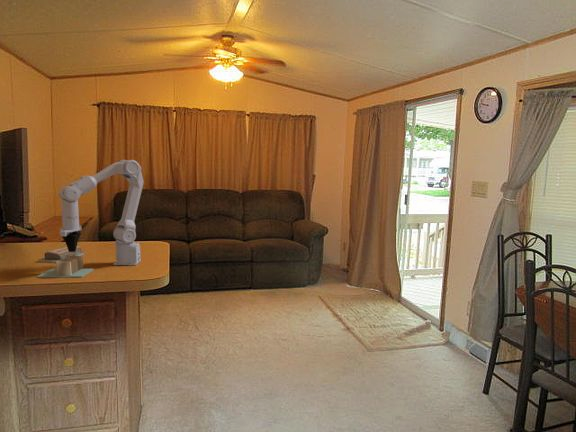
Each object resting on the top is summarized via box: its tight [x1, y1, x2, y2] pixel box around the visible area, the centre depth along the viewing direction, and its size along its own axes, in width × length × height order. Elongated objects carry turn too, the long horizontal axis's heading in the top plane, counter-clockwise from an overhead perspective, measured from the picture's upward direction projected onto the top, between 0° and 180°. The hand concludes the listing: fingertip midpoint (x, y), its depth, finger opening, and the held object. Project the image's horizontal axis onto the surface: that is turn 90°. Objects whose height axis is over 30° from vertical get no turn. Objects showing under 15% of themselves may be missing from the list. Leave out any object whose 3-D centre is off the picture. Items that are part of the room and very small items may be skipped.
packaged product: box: [38, 245, 86, 264], centre depth 181 cm, size 18×5×10 cm
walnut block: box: [55, 255, 84, 275], centre depth 157 cm, size 5×5×11 cm
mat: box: [36, 268, 94, 279], centre depth 156 cm, size 16×11×1 cm
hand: (72, 251), depth 159 cm, fingers closed
